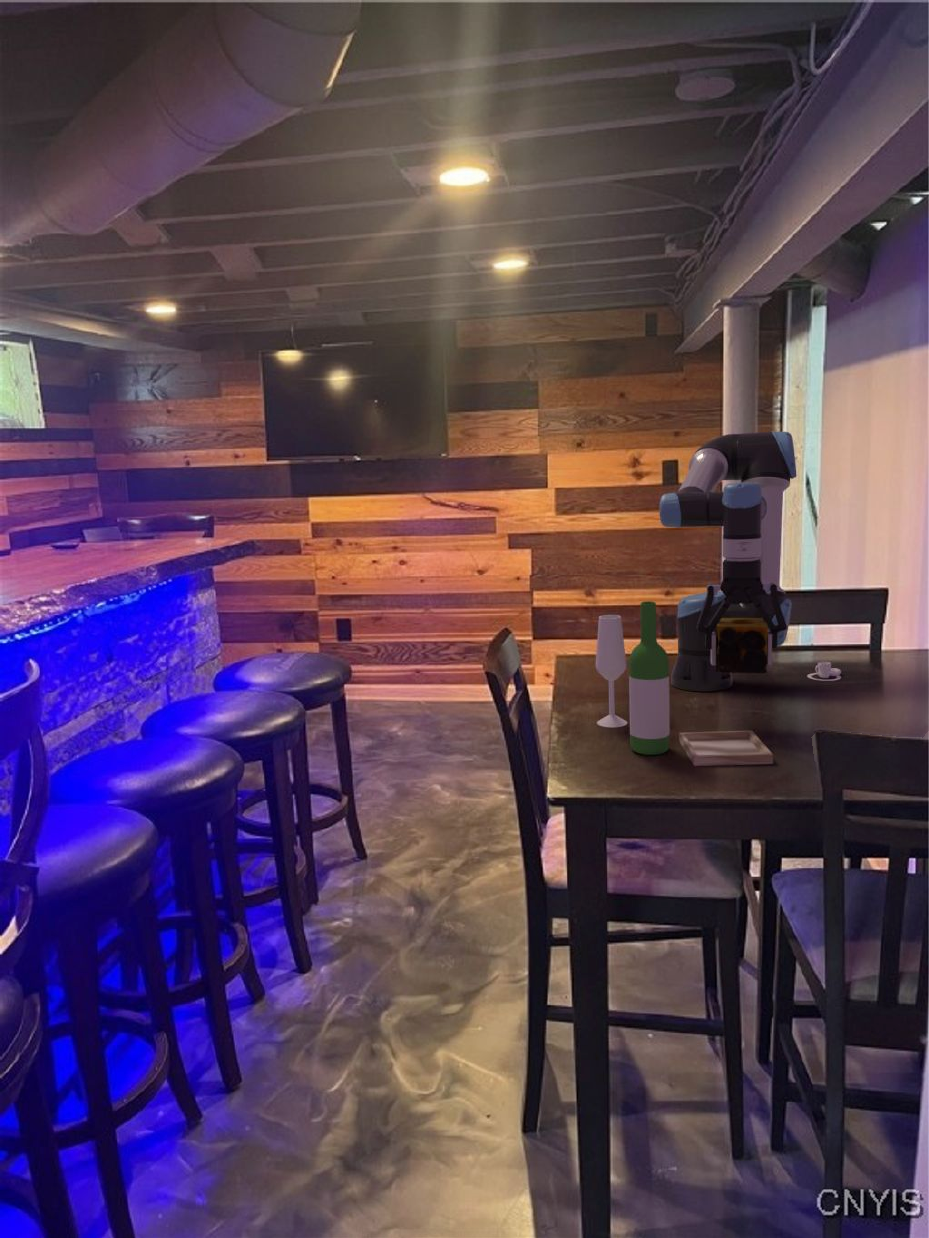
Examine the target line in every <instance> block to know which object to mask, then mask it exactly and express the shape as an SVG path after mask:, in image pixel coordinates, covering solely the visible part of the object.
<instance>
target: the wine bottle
mask: <svg viewBox="0 0 929 1238" xmlns="http://www.w3.org/2000/svg"><path fill="white" fill-rule="evenodd" d="M656 604H657V602H655V601H642V602H640V643H639V644H637V645H636V646H635V647H634V648H633V649H632V651H631V653H630V655H629V660H628V661H629V662H628V669H629V670H628V671H629V672H628V673H629V674H628V676H629V677H628V685H629V686H628V687H629V689H628V691H629V692H628V693H629V694H628V695H629V697H628V698H629V743H630V748H631V750H632V751H634V752H635V753H637V754H640V755H645V756H646V755H647V756H656V755H657V756H658V755H661V754H664V753H666V752H667V751H668V750H669V749H670V733H671V731H670V661H669V660H670V659H669V656H668V653H667V651H666V650H665V649H664V647H663V646H662V645H661V644H659V643H658V642H657V641H658V639H657V605H656Z"/></svg>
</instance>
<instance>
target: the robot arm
mask: <svg viewBox="0 0 929 1238" xmlns="http://www.w3.org/2000/svg"><path fill="white" fill-rule="evenodd" d="M795 455H796V454H795V448H794V440H793V435H792V434H791V433H790V432H788V431H774V430H772V431H762V432H761V431H760V432H749V433H748V432H747V433H746V432H745V433H728V434H725V435H724V434H723V435H720V436H718V437H716V438H713V439H711V440H709V441H708V442H706V443H705V444H703V445H702V446H700V447H699V448H698V449H697V450H696V451H695V452H694V453H693V454H692V456H691V458H690V460H689V463H688V472H687V474H686V476H685V478H684V480H683V482H682V484H681V486H680V487H679V489H678V491H677V492H672V493H664V494H663V495H662V496H661V497H660V501H659V521H660V524H661V525H662V526H663V527H665V528H677V529H680V528H707V527H709V528H711V527H714V528H716V527H718V528H719V527H720V528H721V527H722V557H723V558H725V559H724V560H723V561H722V575H721V576H722V580H721V583H720V584H707V585H706V592H701V593H695V594H690V595H687V596H685V597H682V598H681V599H680V600H679V602H678V603H677V615H676V618H677V656H676V659H675V663H674V666H673V668H672V671H671V675H670V683H671V686H673V687H674V688H676V689H680V690H683V691H690V692H716V691H723V690H727V689H730V688H732V686H733V685H734V684H733V681H734V680H733V674H732V673H726V672H716V670H715V669H716V632H717V623H719V621H720V620H721V618H763V620H764V621H765V622H766V623H767V625H768V632H767V666H772V663H773V660H772V659H773V658H772V657H773V656H772V655H773V651H772V650H773V649H777V648H778V647H781V646H782V645H784V643H785V641H786V640H787V634H788V631H789V626H790V621H791V614H792V613H791V612H792V605H793V603H792V600H791V599H789V598H786V591H785V590H784V589H783V588H782V587H781V586H780V577H781V553H782V552H781V551H782V550H781V549H782V533H783V532H782V527H783V506H784V505H783V503H784V501H783V500H784V492H785V491H786V490H787V489H788V488H789V487H790V486H791V480H792V479H795V478H797V477H798V476H797V474H798V473H797V464H796V463H797V462H796V456H795ZM722 481H740V482H736V483H735V482H734V483H727V484H725V485H724V487H723V488H722V489H723V490H722V491H716V488H717V486H718V484H719V483H721V482H722Z"/></svg>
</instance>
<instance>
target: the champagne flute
mask: <svg viewBox="0 0 929 1238" xmlns="http://www.w3.org/2000/svg"><path fill="white" fill-rule="evenodd" d="M622 622H623V620H622V617H621V615H618V614H605V615H600V616H598V624H597V625H598V626H597V628H598V629H597V640H596V641H597V642H596V653H595V654H596V656H595V669H596V671H597V672H598V674H600V675H601V676H602V677H603V678H604V679H605V680H606V681H608V715H606V716H604V717H603V718H601V719H599V720H598V721H597V722H596V724H597V726H600V727H603V728H621V727H625V726H626V725H627V724H628V721H627V720H625V719H623V718H622V717H619V716H618V715H616V714H615V713H616V712H615V709H616V708H615V681H617V680H618V678H620V677H621V676H622V675H623V674H624V673H625V670H626V669H627V666H628V665H627V658H626V650H625V641H624V632H623V623H622Z"/></svg>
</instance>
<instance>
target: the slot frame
mask: <svg viewBox="0 0 929 1238" xmlns="http://www.w3.org/2000/svg"><path fill="white" fill-rule="evenodd" d="M678 737H679V743H680V744H681V746H682V748H683V750H684V752H686V755H687V756H688V757H689V760H690V761H691V763H692V765H693V766H694V767H701V766H703V767H704V766H705V767H708V766H710V767H711V766H737V765H739V766H740V765H742V766H745V765H747V766H749V765H773V764H774V754H773V753H772V751H771V750H769V748H768V747H767V746H766V744H764V742H762V740H761V739H760V738H759V736H757V735H756V733H755V732H754V731H753V730H728V731H727V730H725V731H724V730H723V731H720V730H718V731H693V732H692V731H691V732H689V731H688V732H679V736H678Z"/></svg>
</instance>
